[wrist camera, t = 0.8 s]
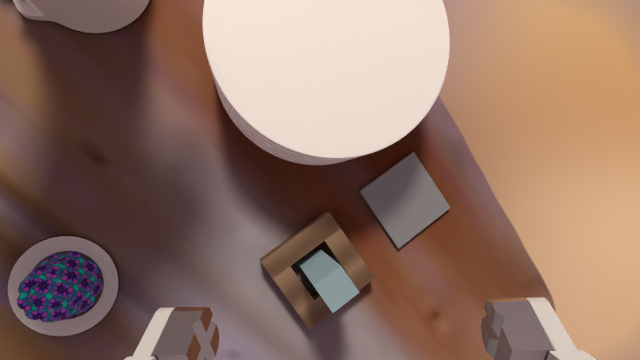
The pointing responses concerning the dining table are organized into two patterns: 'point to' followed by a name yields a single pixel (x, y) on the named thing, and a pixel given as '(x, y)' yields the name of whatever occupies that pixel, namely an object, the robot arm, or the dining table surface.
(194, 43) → the dining table surface
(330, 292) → the peg
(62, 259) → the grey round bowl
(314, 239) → the holder
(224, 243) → the dining table surface
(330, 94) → the plate stack
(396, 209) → the coaster
